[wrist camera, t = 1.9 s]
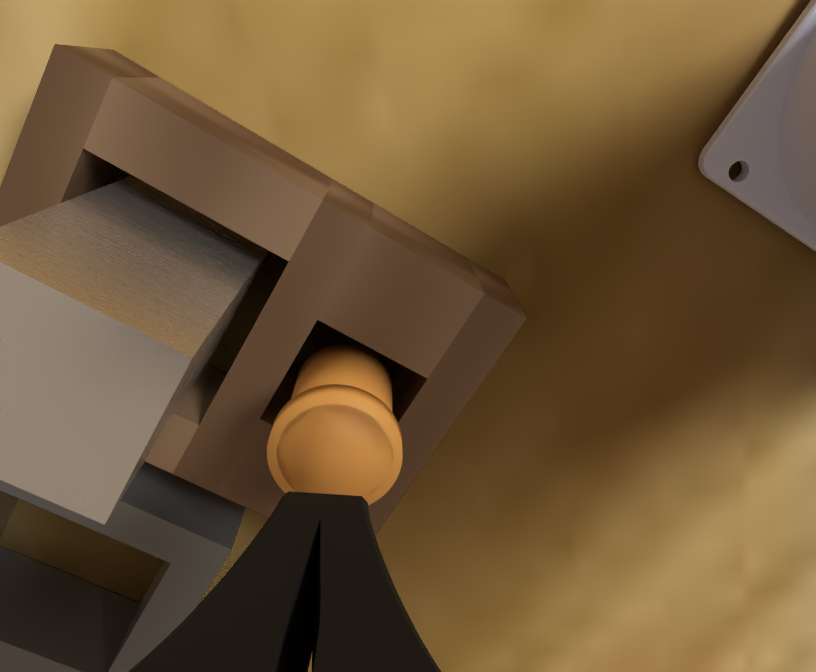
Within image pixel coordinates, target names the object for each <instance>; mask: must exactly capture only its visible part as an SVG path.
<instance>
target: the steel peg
mask: <svg viewBox="0 0 816 672" xmlns="http://www.w3.org/2000/svg"><path fill="white" fill-rule="evenodd" d="M268 251H269V250H267V249H265V248H263V247H262V246H260V245H258V244H256V243H254V242H253V241H251V240H249V239H247V238H245V237H243V236H242V235H240V234H238V233H236V232H234V231H233V230H231V229H229V228H227V227H225V226H223V225H222V224H220V223H218V222H216V221H214V220H213V219H211V218H209V217H207V216H205V215H204V214H202V213H200V212H198V211H196V210H194V209H193V208H191V207H189V206H187V205H185V204H184V203H182V202H180V201H178V200H176V199H174V198H173V197H171V196H169V195H167V194H165V193H164V192H162V191H160V190H158V189H156V188H155V187H153V186H151V185H149V184H147V183H145V182H144V181H142V180H140V179H138V178H136V177H135V176H133V175H132V176H130V177H127V178H125V179H122V180H119V181H117V182H114V183H112V184H109V185H107V186H104V187H101V188H99V189H96V190H94V191H91V192H88V193H86V194H83V195H81V196H78V197H76V198H73V199H70V200H68V201H65V202H63V203H60V204H57V205H55V206H52V207H50V208H47V209H45V210H42V211H39V212H37V213H34V214H32V215H29V216H26V217H24V218H21V219H19V220H16V221H14V222H11V223H8V224H6V225H3V226H1V227H0V480H2V481H4V482H6V483H9V484H11V485H13V486H16V487H18V488H20V489H23V490H25V491H27V492H30V493H32V494H34V495H36V496H39V497H41V498H43V499H46V500H48V501H50V502H53V503H55V504H57V505H60V506H62V507H64V508H67V509H69V510H71V511H74V512H76V513H78V514H81V515H83V516H85V517H88V518H90V519H92V520H95V521H97V522H99V523H102V524H104V525H105V524H106V522H107V520H108V519H109V517H110V516H111V514H112V513H113V511H114V509H115V508H116V506H117V505H118V503H119V501H120V500H121V498H122V497H123V495H124V494H125V492H126V490H127V489H128V487H129V486H130V484H131V482H132V481H133V479H134V478H135V476H136V475H137V473H138V471H139V470H140V468H141V467H142V465H143V463H144V462H145V460H146V459H147V457H148V456H149V454H150V452H151V451H152V449H153V448H154V446H155V444H156V443H157V441H158V440H159V438H160V437H161V435H162V433H163V432H164V430H165V429H166V427H167V425H168V424H169V422H170V421H171V419H172V418H173V416H174V414H175V413H176V411H177V410H178V408H179V406H180V405H181V403H182V402H183V400H184V399H185V397H186V395H187V394H188V392H189V391H190V389H191V387H192V386H193V384H194V383H195V381H196V380H197V378H198V376H199V375H200V373H201V372H202V370H203V368H204V367H205V365H206V364H207V362H208V361H209V359H210V357H211V356H212V354H213V353H214V351H215V350H216V348H217V346H218V344H219V342H220V341H221V339H222V337H223V335H224V333H225V331H226V329H227V327H228V326H229V324H230V322H231V320H232V318H233V316H234V314H235V312H236V311H237V309H238V307H239V305H240V303H241V301H242V299H243V298H244V296H245V294H246V292H247V290H248V288H249V286H250V284H251V283H252V281H253V279H254V277H255V275H256V273H257V271H258V269H259V268H260V266H261V264H262V262H263V260H264V258H265V256H266V255H267V253H268Z"/></svg>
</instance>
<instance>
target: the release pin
mask: <svg viewBox="0 0 816 672" xmlns="http://www.w3.org/2000/svg"><path fill="white" fill-rule="evenodd" d="M402 458H403V451H402V435H401V430H400V427H399V424H398V421H397V420H396V418H395V416H394V414H393V413H392V381H391V377H390V374H389V372H388V370H387V368H386V366H385V365H384V363H383V362H382V361H381V360H380V359H379V358H378V357H377V356H376V355H375V354H373V353H372V352H370V351H369V350H367V349H364V348H362V347H359V346H355V345H350V344H337V345H331V346H328V347H325V348H322V349H320V350H318V351H317V352H315V353H314V354H312V355H311V356H310V357H309V358H308V359H307V360H306V361H305V363H304V364H303V366H302V367H301V369H300V371H299V374H298V377H297V381H296V384H295V387H294V391H293V394H292V397H291V400H290V401H288V402H287V403H286V404H285V405H284V407H283V408H282V409H281V410H280V412H279V413H278V415H277V417H276V419H275V421H274V424H273V427H272V430H271V433H270V436H269V439H268V444H267V461H268V465H269V469H270V472H271V474H272V476H273V478H274V480H275V481H276V483H277V484H278V486H279V487H280V488H281V489H282V490H283V491H284V492H285V493H287V492H289V491H292V492H307V493H322V494H338V495H353V496H362V497H363V498H364V499H365V500H366V501H367V502H368V505H370V504H372V503H374V502H375V501H377V500H378V499H380V498H381V497H382V496H383V495H385V494H386V493H387V492H388V491H389V489H390V488H391V487H392V486H393V484H394V483H395V481H396V479H397V477H398V475H399V472H400V469H401V465H402Z"/></svg>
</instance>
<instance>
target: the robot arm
mask: <svg viewBox="0 0 816 672" xmlns="http://www.w3.org/2000/svg"><path fill="white" fill-rule="evenodd" d="M737 161H739V162H740V163H741V167H742V170H741V172H740V174H739V176H737V177H736V178H735V179H732V180H731V179H730V178H729V169H730V167H731V165H733V164H734V163H735V162H737ZM698 166H699V169H700V172H701V173H702V174H703V175H704V176H705V177H706V178H708V179H709V180H711V181H712V182H714V183H715V184H717V185H718V186H719V187H721V188H722V189H724V190H725V191H727V192H728V193H730V194H731V195H733V196H734V197H736V198H737V199H739V200H740V201H741V202H743V203H744V204H746V205H747V206H749V207H750V208H752V209H753V210H755V211H756V212H758V213H759V214H761V215H762V216H764V217H765V218H766V219H768V220H769V221H771V222H772V223H774V224H775V225H777V226H778V227H780V228H781V229H783V230H784V231H786V232H787V233H789V234H790V235H791V236H793V237H794V238H796V239H797V240H799V241H800V242H802V243H803V244H805V245H806V246H808V247H809V248H811V249H812V250H813V251H815V252H816V0H811V1H810V2H809V4H808V5H807V6H806V8H805V9H804V11H803V12H802V13H801V15H800V16H799V17H798V19H797V20H796V22H795V23H794V24H793V26H792V27H791V28H790V30H789V31H788V33H787V34H786V35H785V37H784V38H783V39H782V41H781V42H780V44H779V45H778V46H777V48H776V49H775V50H774V52H773V53H772V55H771V56H770V57H769V59H768V60H767V61H766V63H765V64H764V66H763V67H762V68H761V70H760V71H759V72H758V74H757V75H756V77H755V78H754V79H753V81H752V82H751V83H750V85H749V86H748V88H747V89H746V90H745V92H744V93H743V94H742V96H741V97H740V99H739V100H738V101H737V103H736V104H735V105H734V107H733V108H732V110H731V111H730V112H729V114H728V115H727V116H726V118H725V119H724V121H723V122H722V123H721V125H720V126H719V127H718V129H717V130H716V132H715V133H714V134H713V136H712V137H711V138H710V140H709V141H708V143H707V144H706V145H705V147H704V148H703V150H702V152H701V154H700V156H699V161H698ZM311 654H312V672H441V671H440V669H439V668H438V666H437V665H436V663H435V661H434V660H433V658H432V657H431V655H430V653H429V652H428V650H427V648H426V647H425V645H424V643H423V641H422V640H421V638H420V636H419V634H418V633H417V631H416V629H415V627H414V625H413V623H412V621H411V619H410V617H409V615H408V614H407V612H406V610H405V608H404V606H403V604H402V602H401V600H400V597H399V595H398V593H397V591H396V589H395V587H394V584H393V582H392V579H391V577H390V575H389V572H388V570H387V568H386V565H385V563H384V560H383V558H382V555H381V552H380V550H379V547H378V544H377V541H376V538H375V535H374V531H373V528H372V524H371V520H370V515H369V510H368V502H367V501H366V500H365V499H364V498H363V497H362V496H353V495H338V494H322V493H307V492H292V491H289V492H287V493H286V494H285V495H283V496H282V497H281V499H280V501H279V503H278V504H277V506H276V508H275V509H274V511H273V512H272V514H271V516H270V517H269V519H268V520H267V522H266V523H265V524H264V526H263V527H262V529H261V530H260V531H259V533H258V534H257V536H256V537H255V538H254V540H253V541H252V542H251V544H250V545H249V546H248V547H247V549H246V550H245V551H244V552H243V554H242V555H241V556H240V557H239V559H238V560H237V561H236V563H235V564H234V565H233V566H232V568H231V569H230V570H229V571H228V572H227V574H226V575H225V576H224V577H223V578H222V579H221V580H220V582H219V583H218V584H217V585H216V586H215V587H214V588H213V589H212V590H211V592H210V593H209V594H208V595H207V596H206V597H205V598H204V599H203V600H202V601H201V603H200V604H199V605H198V606H197V607H196V608H195V609H194V610H193V611H192V612H191V613H190V614H189V615H188V616H187V617H186V618H185V619H184V620H183V621H182V622H181V623H180V624H179V626H178V627H176V628H175V629H174V630H173V631H172V632H171V633H170V634H169V635H168V636H167V637H166V638H165V639H164V640H163V641H162V642H161V643H160V644H159V645H158V646H156V647H155V648H154V649H153V650H152V651H151V652H150V653H149V654H148V655H147V656H146V657H144V658H143V659H142V660H141V661H140V662H139V663H137V664H136V665H135V666H134V667H133V668H132V669H130V670H129V671H128V672H308V667H309V663H310V658H311Z"/></svg>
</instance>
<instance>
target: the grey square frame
mask: <svg viewBox="0 0 816 672" xmlns="http://www.w3.org/2000/svg"><path fill="white" fill-rule="evenodd" d="M18 498H19V499H22V500H24V501H26V502H29V503H31V504H33V505H36V506H38V507H40V508H43V509H45V510H47V511H50V512H52V513H54V514H57V515H59V516H61V517H64V518H66V519H68V520H71V521H73V522H75V523H78V524H80V525H82V526H85V527H87V528H89V529H92V530H94V531H96V532H99V533H101V534H103V535H106V536H108V537H110V538H113V539H115V540H117V541H120V542H122V543H125V544H127V545H129V546H132V547H134V548H136V549H139V550H141V551H143V552H146V553H148V554H150V555H153V556H155V557H157V558H160V559H162V560H164V562H163V564H162V565H161V567H160V569H159V571H158V572H157V574H156V576H155V578H154V579H153V581H152V583H151V585H150V586H149V588H148V590H147V592H146V593H145V595H144V597H143V598H142V600H141V602H140V603H138V602H135V601H133V600H130V599H128V598H125V597H123V596H121V595H118V594H116V593H113V592H111V591H108V590H106V589H103V588H101V587H99V586H96V585H94V584H91V583H89V582H86V581H84V580H81V579H79V578H77V577H74V576H72V575H69V574H67V573H64V572H62V571H59V570H57V569H55V568H52V567H50V566H47V565H45V564H42V563H40V562H38V561H35V560H33V559H30V558H28V557H25V556H23V555H20V554H18V553H16V552H13V551H11V550H8V549H6V548H3V547H1V546H0V672H128V671H129V670H130V669H132V668H133V667H134V666H135V665H136V664H137V663H139V662H140V661H141V660H142V659H143V658H144V657H146V656H147V655H148V654H149V653H150V652H151V651H152V650H153V649H154V648H155V647H156V646H158V645H159V644H160V643H161V642H162V641H163V640H164V639H165V638H166V637H167V636H168V635H169V634H170V633H171V632H172V631H173V630H174V629H175V628H176V627H178V626H179V624H180V623H181V622H182V621H183V620H184V619H185V618H186V617H187V616H188V615H189V614H190V613H191V612H192V611H193V610H194V609H195V608H196V607H197V605H198V604H199V602H200V600H201V599H202V597H203V595H204V594H205V592H206V590H207V589H208V587H209V586H210V584H211V582H212V581H213V579H214V577H215V576H216V574H217V573H218V571H219V569H220V568H221V566H222V564H223V563H224V561H225V559H226V558H227V556H228V555H229V553H230V551H231V550H232V547H233V544H234V541H235V538H236V535H237V532H238V529H239V526H240V523H241V519H242V516H243V513H244V510H245V507H244V506H242V505H239V504H237V503H235V502H233V501H231V500H229V499H226V498H224V497H222V496H220V495H218V494H215V493H213V492H211V491H209V490H207V489H204V488H202V487H200V486H198V485H196V484H194V483H191V482H189V481H187V480H185V479H183V478H180V477H178V476H176V475H174V474H172V473H170V472H167V471H165V470H163V469H161V468H159V467H156V466H154V465H152V464H150V463H148V462H146V461H145V462H144V463H143V465H142V467H141V468H140V470H139V471H138V473H137V475H136V476H135V478H134V479H133V481H132V482H131V484H130V486H129V487H128V489H127V490H126V492H125V494H124V495H123V497H122V498H121V500H120V501H119V503H118V505H117V506H116V508H115V509H114V511H113V513H112V514H111V516H110V517H109V519H108V520H107V522H106V524H105V525H104V524H102V523H99V522H97V521H95V520H92V519H90V518H88V517H85V516H83V515H81V514H78V513H76V512H74V511H71V510H69V509H67V508H64V507H62V506H60V505H57V504H55V503H53V502H50V501H48V500H46V499H43V498H41V497H39V496H36V495H34V494H32V493H30V492H27V491H25V490H23V489H20V488H18V487H16V486H13V485H11V484H9V483H6V482H4V481H2V480H0V537H1V535H2V532H3V530H4V528H5V526H6V524H7V522H8V519H9V517H10V515H11V513H12V511H13V509H14V506H15V504H16V502H17V500H18Z"/></svg>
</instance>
